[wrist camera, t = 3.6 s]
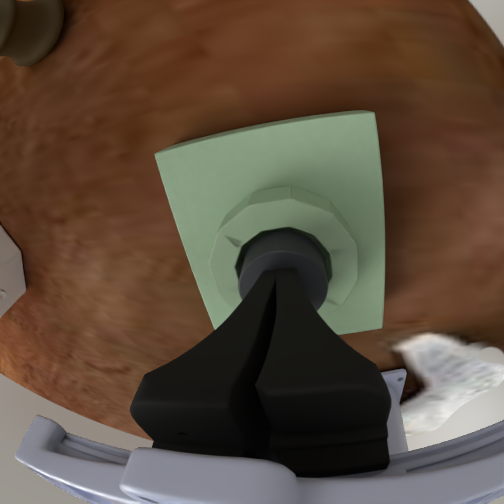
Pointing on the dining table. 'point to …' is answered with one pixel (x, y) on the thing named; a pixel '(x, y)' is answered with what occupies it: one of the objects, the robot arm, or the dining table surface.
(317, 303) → the push button
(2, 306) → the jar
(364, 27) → the dining table surface
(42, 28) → the kendama
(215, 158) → the green button box
